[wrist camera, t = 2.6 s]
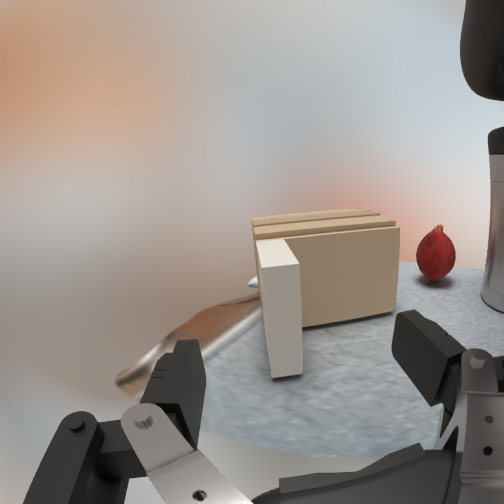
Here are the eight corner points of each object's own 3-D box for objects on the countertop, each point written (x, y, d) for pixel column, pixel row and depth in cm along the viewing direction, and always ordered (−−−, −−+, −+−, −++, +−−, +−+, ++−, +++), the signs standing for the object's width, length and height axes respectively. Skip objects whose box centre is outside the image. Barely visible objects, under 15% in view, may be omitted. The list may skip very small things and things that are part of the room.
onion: (429, 293, 30) (434, 230, 28) (407, 277, 36) (409, 222, 33) (459, 285, 30) (465, 227, 28) (436, 272, 36) (440, 219, 34)
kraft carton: (358, 279, 38) (357, 206, 35) (390, 311, 28) (395, 218, 25) (259, 292, 37) (251, 216, 35) (264, 331, 28) (254, 232, 25)
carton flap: (392, 308, 27) (396, 226, 25) (428, 344, 20) (443, 245, 18) (264, 328, 27) (255, 240, 25) (271, 377, 20) (261, 267, 18)
